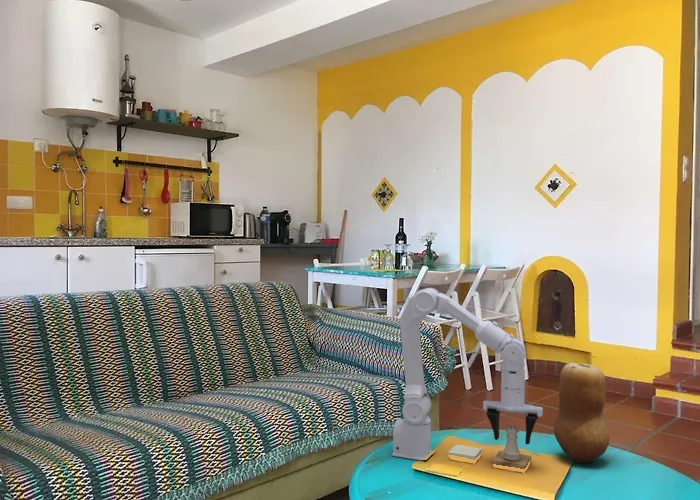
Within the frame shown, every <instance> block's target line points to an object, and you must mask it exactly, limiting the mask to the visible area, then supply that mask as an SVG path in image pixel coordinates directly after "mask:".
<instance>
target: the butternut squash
mask: <svg viewBox="0 0 700 500" xmlns="http://www.w3.org/2000/svg"><path fill="white" fill-rule="evenodd" d="M605 376H606V375H605V374H604V372H603V371H602V370H601V369H600V368H599V367H597V366H595V365H593V364H589V363H580V362H579V363H578V362H577V363H576V362H569V363H566V364H565V365H563V368H562V370H561V371H560V373H559V377H560V379H559V386H558V399H559V400H558V403H559V404H558V413H557V415H556V418H555V421H554V425H553V433H554V437H555V438H554V439H555V440H556V442H557V443H558V445H559V447H560V448H561V450H562V451H563V452H564V454H565V455H567V456H568V457H569V459H571V460H572V461H573V462H575V463H578V464H584V463H589V462H593V461H595V460H597V459H599V458H600V457H601V456H603V455H604V454H605V452H606V451H607V449H608V448H609V444H610V432H609V429H608V426H607V423H606V420H605V419H604V414H603V413H604V412H603V411H604V406H605V404H606V403H605V402H606V397H607V396H606V395H607V394H606V393H607V391H606V390H607V389H606V388H607V386H606V385H607V384H606V380H607V379H606V377H605Z"/></svg>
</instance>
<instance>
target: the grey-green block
mask: <svg viewBox="0 0 700 500" xmlns="http://www.w3.org/2000/svg"><path fill="white" fill-rule="evenodd" d="M481 452H482V453H483V448H479V447H475V446H468V445H461V444H455V445H454V446H453V447H452V448H450V450H449V451H448V452H447V453H448V454H449V455H455V456H459V457H465V458H468V459H473V460H475V459H476V458H477V457H478V456H479V455H480V454H481Z"/></svg>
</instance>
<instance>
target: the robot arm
mask: <svg viewBox="0 0 700 500" xmlns="http://www.w3.org/2000/svg"><path fill="white" fill-rule="evenodd" d="M434 311H435V314H441V315H442V314H443V315H449V316H451V317H452V318H453V319H455V320H456V321H458V322H459V323H461V324H463V325H464V326H466V327H467V328H469V329H471V330H472V331H473V332H474V334H475V335H474V336H475V339H476V340H478V341H479V342H480V343H482V344H483V345H484V346H486V347H487V348H488V349H490V350H492V351H493V352H494V353H496V354H500V356H501V359H502V367H501V378H500V379H501V380H500V381H501V382H500V385H501V386H500V389H501V390H500V401H499V400H486V399H485V400H484V401H483V403H482V409H483V410H484V411H487V412H486V413H485V414H486V417H487V418H488V420H489V422H490V425H491V428H492V431H493V437H494V440H496V441H498V440H499V439H500V415H501V412H504V413H505V412H507V413H514V414H523V415H526V416H525V445H530V443H531V438H532V433H533V430H534V427H535V425H536V423H537V420H538V418H539V417H540V418H542V416H543V415H544V407H541V406H535V405H532V404H525V391H526V390H525V386H526V385H525V384H526V383H525V382H526V381H525V380H526V370H525V364H526V363H525V358H526V348H525V345H524V343H523V342H522V341H521V340H520V339H519V338H517V337H514V336H515V335H513V334H512V333H510V334H509V333H508V332H506V331H505V330H503V329H502V328H501V327H499V326H498V325H499V323H498V322H496V321H490V320H480V319H479V318H478V317H477V316H475V315H474V314H473V313H471V312H470V311H469V310H468V309H466V308H464V306H462V305H461V304H459V303H458V302H456V300H454V299H452V298H451V297H449V296H448V295H446V294H445V293H442V292H440V291H438V290H437V289H436V288H434V287H426V288H423V289H420V290H418V291H416V292H415V293H414V294H413V295H412V296H410V297H409V299H408V301H407V304H406V305H405V308H404V309H403V312H402V314H401V315H400V317H399V327H400V334H401V335H400V336H401V347H402V358H403V359H402V360H403V367H404V368H403V369H404V378H405V379H404V380H405V390H404V402H403V403H404V404H403V406H402V409H401V410H402V411H401V413H402V416H403V418H398V419H397V420H396V421H395V423H394V425H393V438H392V441H393V442H392V447H393V448H392V454H391V456H392V457H399V458H404V459H409V460H410V459H411V460H416V461H421V459H423V458H424V457H426V456H427V455H428V454H430V452H431V451H432V450H431V434H432V433H431V432H432V431H431V428H432V427H431V426H432V425H431V423H432V420H431V418H430V416H429V415H428V414H429V413H430V411H431V410H432V407H433V406H432V405H433V403H432V399H431V398H430V397H429V394H428V389H427V387H426V383H425V375H424V364H423V354H422V345H421V344H422V343H421V333H420V324H421V323H422V321H424V319H425V318H426V317H427V316H428V315H429V314H431V313H432V312H434Z"/></svg>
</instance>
